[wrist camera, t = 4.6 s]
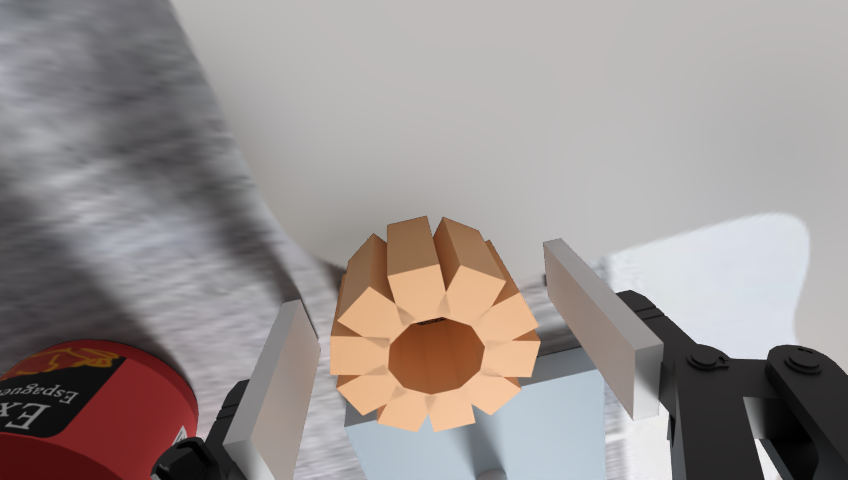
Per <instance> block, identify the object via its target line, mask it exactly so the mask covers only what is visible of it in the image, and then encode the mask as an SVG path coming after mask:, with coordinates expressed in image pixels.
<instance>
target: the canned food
mask: <svg viewBox="0 0 848 480" xmlns="http://www.w3.org/2000/svg"><path fill="white" fill-rule="evenodd" d="M198 415H199V412H198V406H197V402H196V399H195V397H194V395H193V392H192V390H191V389H190V388H189V386H188V385H187V383H186V382H185V381H184V379H183V378H182V377H181V376H180V375H179V374H178V373H177V372H175V371H174V370H173V369H172V368H171V367H170V366H168V365H167V364H165V363H164V362H162V361H161V360H159V359H158V358H156V357H154V356H152V355H150V354H148V353H146V352H144V351H142V350H139V349H136V348H133V347H130V346H127V345H124V344H120V343H115V342H110V341H103V340H77V341H68V342H65V343H61V344H58V345H54V346H52V347H49V348H47V349H45V350H43V351H40V352H38V353H36V354H34V355H32V356H30V357H28V358H26V359H24V360H22V361H20V362H18V363H17V364H16V365H15V366H14V367H12V368H11V369H10V370H9V371H7V372H6V373H5V374H4V375H2V376H1V377H0V480H152V478H151V477H150V474H151V470H152V467H153V466H154V464H155V462H156V461H157V459H158V458H159V457H160V456H161V455H162V454H163V453H164V452H165V451H166V450H167V449H168V448H170V447H171V446H172V445H174V444H175V443H177V442H179V441H181V440H183V439H185V438H189V437H194V436H195V437H196V430H197V424H198Z"/></svg>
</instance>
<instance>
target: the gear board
mask: <svg viewBox="0 0 848 480" xmlns="http://www.w3.org/2000/svg"><path fill="white" fill-rule="evenodd" d="M517 379H518V382H519V384H520V386H521V389H522V390H521V391H520V392H519V393H517V394H516V395H515V396H514V397H513V398H511V399H510V400H509V401H508V402H507V403H505V404H504V405H503V406H502V407H500V408H499V409H498V410H497V411H496V412H494V413H493V414H492V415H489V414H487V413H486V412H484V411H482V410H481V409H479V408H478V407H476V406H474V405H473V404H471V405H472V409H473V414H474V418H475V423H473V424H468V425H464V426H460V427H455V428H451V429H447V430H442V431H438V432H434V430H433V427H432V424H431V420H430V417H429V414H428V415H427V416H426V418H425V420H424V422H423V423H422V425H421V427H420V428H419V430H418V432H413V431H409V430H404V429H400V428H396V427H392V426H387V425H383V424H379V423H377V409H375V410H373V411H371V412H369V413H367V414H365V415H362V414H361V413H360V412H359V411H358V410H357V409H356V408H355V407H354V406H353V405H352V404H351V403H350V402H349V401H347V407H346V416H345V424H344V428H345V430H346V433H347V435H348V437H349V439H350V442H351V444H352V446H353V448H354V451H355V453H356V455H357V457H358V460H359V462H360V464H361V466H362V469H363V471H364V473H365V475H366V478H367V480H606V469H605V412H604V378H603V376H602V375H601V373H600V372H599V370H598V369H597V367H596V366H595V364H594V363H593V361H592V360H591V359H590V357H589V356H588V354H587V353H586V351H585V350H584V348H583V347H579V348H575V349H571V350H566V351H562V352H558V353H553V354H549V355H545V356H540V357H536V361H535V364H534V368H533V371H532V375H531V377H517Z"/></svg>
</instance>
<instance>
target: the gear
mask: <svg viewBox="0 0 848 480" xmlns="http://www.w3.org/2000/svg"><path fill="white" fill-rule="evenodd" d="M439 317H445V318H446V319H445V320H443V321H439V322H434V323H430V324H426V325H419V324H416V323H417V322H422V321H426V320H430V319H435V318H439ZM537 327H539V325H538V323H537V321H536V320H535V318H534V316H533V314H532V313H531V311H530V309H529V307H528V306H527V304H526V302H525V300H524V298H523V297H522V295H521V293H520V291H519V290H518V288H517V286H516V284H515V283H514V281H513V279H512V278H511V276H510V274H509V272H508V271H507V269H506V267H505V265H504V264H503V262H502V260H501V259H500V257H499V255H498V253H497V252H496V250H495V248H494V246H493V245H492V243H491V241H490V240H488V241H486V242H485V241H484V240H483V238H482V236H481V234H480V232H479V231H478V230H476V229H473V228H471V227H468V226H465V225H463V224H460V223H458V222H455V221H453V220H450V219H447V218H445V217H443V218H442V220H441V222H440V224H439V226H438V228H437V230H436V232H435V234H434V236H433V238H432V234H431V230H430V226H429V223H428V219H427V216H423V217H419V218H415V219H411V220H406V221H402V222H398V223H394V224H389V225H387V243H386V242H385V241H383V240H382V239H380V238H379V237H378V236H376V235H375V234H374V233H373V234H372V235H371V236H370V238H369V239H368V240H367V241H366V242H365V243H364V244H363V245H362V247H361V248H360V249H359V250H358V251H357V252H356V253H355V254H354V255H353V256H352V258H351V259H350V260H349V261H348V266H347V272H346V274H343V277H342V282H341V287H340V292H339V297H338V302H337V307H336V312H335V317H334V321H333V326H332V331H331V336H330V375H338V381H337V388H336V389H337V390H338V391H339V392H340V393H341V394H342V395H343V396H344V397H345V398H346V399H347V400H348V401H349V402H350V403H351V404H352V405H353V406H354V407H355V408H356V409H357V410H358V411H359V412H360V413H361V414H362V415H365V414H367V413H369V412H371V411H373V410H375V409H377V423H379V424H383V425H387V426H392V427H396V428H400V429H404V430H409V431H413V432H418V430H419V428H420V427H421V425H422V423H423V422H424V420H425V418H426V416H427V415H428V414H429V417H430V420H431V424H432V427H433V430H434V432H438V431H442V430H447V429H451V428H455V427H460V426H464V425H468V424H473V423H475V418H474V414H473V409H472V405H471V404H473V405H474V406H476V407H478V408H479V409H481V410H482V411H484V412H486V413H487V414H489V415H492V414H493V413H494V412H496V411H497V410H498V409H499V408H500V407H502V406H503V405H504V404H505V403H507V402H508V401H509V400H510V399H511V398H513V397H514V396H515V395H516V394H517V393H519V392H520V391H521V390H522V389H521V386H520V384H519V382H518V379H517V377H531V375H532V371H533V368H534V364H535V361H536V357H537V353H538V350H539V346H540V343H541V341H540V339H539V337H538V335H537V333H536V332H535V330H534V329H535V328H537Z"/></svg>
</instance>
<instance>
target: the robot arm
mask: <svg viewBox="0 0 848 480" xmlns="http://www.w3.org/2000/svg"><path fill="white" fill-rule="evenodd" d="M543 247H544V258H545V269H546V280H547V291H548V297H549V298H550V300H551V301H552V303H553V304H554V306H555V307H556V309H557V310H558V312H559V313H560V315H561V316H562V317H563V319H564V320H565V322H566V323H567V325H568V326H569V328H570V329H571V331H572V332H573V334H574V335H575V337H576V338H577V339H578V341H579V342H580V344H581V345H582V347H583V348H584V350H585V351H586V353H587V354H588V356H589V357H590V359H591V360H592V361H593V363H594V364H595V366H596V367H597V369H598V370H599V372H600V373H601V375H602V376H603V378H604V379H605V381H606V382H607V383H608V385H609V386H610V388H611V389H612V391H613V392H614V394H615V395H616V397H617V398H618V400H619V401H620V403H621V404H622V405H623V407H624V408H625V410H626V411H627V413H628V414H629V416H630V417H631V419H632V420H633V421H635V420H639V419H644V418H648V417H653V416H657V415H659V403H660V402H661V403H662V404H663V406H664V407H665V408H666V409H667V411H668V412H669V421H668V432H667V440H670V452H671V466H672V480H765V479H764V475H763V471H762V468H761V464H760V460H759V456H758V452H757V449H756V445H755V441H754V438H755V439H759V440H760V442H761V444H762V445H763V447H764V449H765V451H766V452H767V454H768V456H769V457H770V459H771V461H772V462H773V464H774V466H775V468H776V469H777V471H778V473H779V474H780V476H781V478H782V479H783V480H848V375H847V374H846V373H845V372H844V371H843V370H842V369H841V368H840V367H839V366H838V365H837V364H836V363H835V362H834V361H833V360H831V359H830V358H828V357H827V356H826V355H824V354H822V353H819V352H818V351H816V350H813V349H810V348H806V347H802V346H797V345H781V346H776V347H774V348H772V349H771V350H770V351H769V354H768V357H767V360H758V359H733V358H730V357H728V356H727V355H726V354H725V353H723V352H722V351H720V350H718V349H715V348H713V347H710V346H706V345H702V344H697V343H695V342H694V341H693V340H692V339H691V338H690V337H689V336H688V335H687V334H686V333H685V332H683V331H682V330H681V329H680V328H679V327H678V326H677V325H676V324H675V323H674V322H673V321H671V320H670V319H669V318H668V317H667V316H665V315H664V313H663V312H662V311H661V310H659V309H658V308H656V306H655V305H654V304H653V303H652V302H651V301H650V300H649V299H647V298H646V297H645V296H643V295H641V294H639V293H636V292H634V291H632V290H628V291H623V292H619V293H614V292H613V291H612V290H611V289H610V288H609V287H608V286H607V285H606V284H605V283H604V282H603V281H602V280H601V278H600V277H599V276H598V275H597V274H596V273H595V272H594V271H593V270H592V269H591V268H590V267H589V266H588V265H587V264H586V263H585V262H584V261H583V260H582V259H581V258H580V257H579V256H578V255H577V254H576V253H575V252H574V251H573V250H572V249H571V248H570V247H569V246H568V245H567V244H566V243H565V242H564V241H563V240H562V239H561V238H559V239H555V240H551V241H547V242H543ZM320 352H321V347H320V344H319V342H318V340H317V337H316V335H315V333H314V330H313V328H312V326H311V323H310V321H309V319H308V316H307V314H306V312H305V309H304V307H303V305H302V302H301V300H300V299H298V300H294V301H290V302H285V303H282V305H281V308H280V310H279V312H278V315H277V317H276V319H275V322H274V324H273V327H272V329H271V331H270V334H269V336H268V338H267V341H266V343H265V345H264V348H263V350H262V352H261V355H260V357H259V359H258V362H257V364H256V367H255V369H254V371H253V374H252V376H251V378H250V379H248V380H243V381H239V382H238V383H237V384H236V385H235V386H234V387H233V389H232V390H231V391H230V392H229V393H228V394H227V396H226V399H225V401H224V403H223V405H222V407H221V408H222V409H221V410H220V411H219V413H218V415H217V418H216V419H217V420H216V421H215V422H214V424H213V426H212V428H211V430H210V432H209V434H208V437H207V439H206V441H205V443H204V441H203V440H202V438H199V437H195V436H194V437H189V438H185V439H183V440H181V441H179V442H177V443H175V444H174V445H172V446H171V447H170V448H168V449H167V450H166V451H165V452H164V453H163V454H162V455H161V456H160V457H159V458H158V459H157V461H156V462H155V464H154V466H153V467H152V470H151V474H150V477H151V478H152V480H292V478H293V473H294V469H295V465H296V460H297V456H298V451H299V447H300V442H301V438H302V433H303V429H304V424H305V420H306V415H307V411H308V406H309V402H310V397H311V393H312V388H313V384H314V379H315V375H316V370H317V366H318V361H319V357H320Z"/></svg>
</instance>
